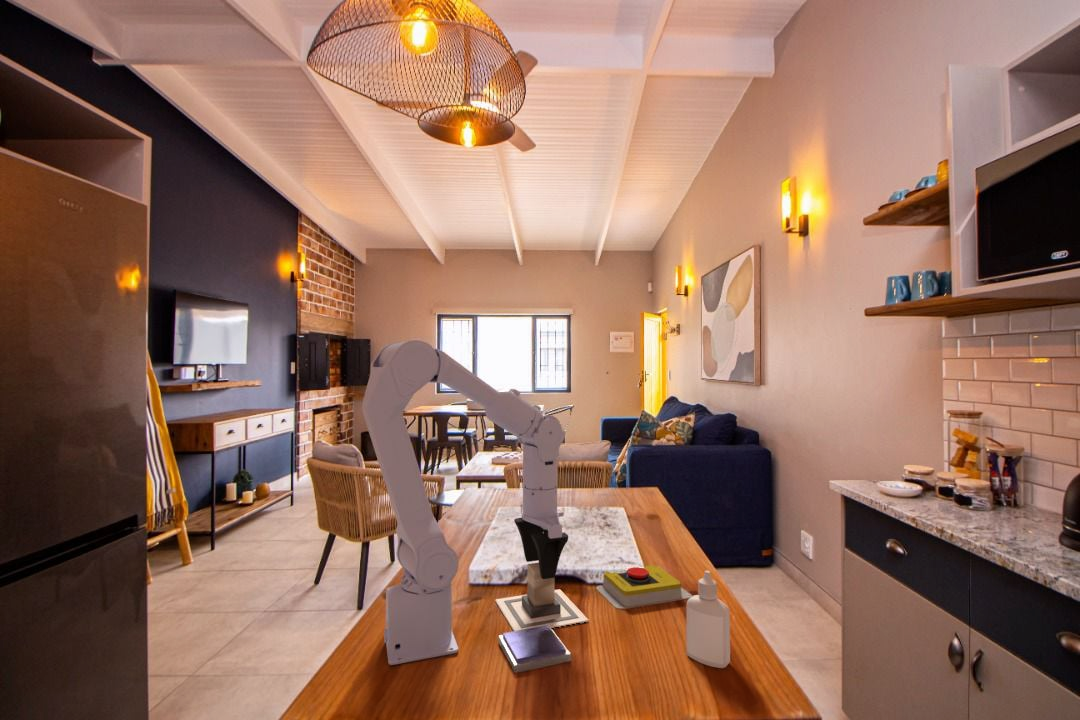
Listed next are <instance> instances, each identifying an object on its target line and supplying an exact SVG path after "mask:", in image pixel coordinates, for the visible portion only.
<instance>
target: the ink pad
mask: <svg viewBox="0 0 1080 720" xmlns="http://www.w3.org/2000/svg"><path fill="white" fill-rule="evenodd" d="M498 644H499V647H500V648H501V650H502V652H503V654H504V655H505V657H506V659H507V661H508V663H509V665H510V667H511V669H512V671H513V672H514V674H518V673H522V672H526V671H531V670H532V671H533V670H536V669H540V668H546V667H549V666H550V667H551V666H556V665H558V664H559V665H560V664H564V662H565V663H569V662H571V661H572V659H571V657H572V654H571V652H570V651H569V650H568V648H567V647H566V646H565V644H564V643H563V642H562V640H561V639H560V638H559V637H558V635H557V634H556V633H555V631H554V630H553V629H551V627H550V626H548V625H545V626H539V627H534V628H529V629H523V630H518V631H513V630H512V631H508V632H503V633H502V634H500V635H498Z"/></svg>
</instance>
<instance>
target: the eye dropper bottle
mask: <svg viewBox="0 0 1080 720" xmlns="http://www.w3.org/2000/svg"><path fill="white" fill-rule="evenodd" d="M711 575H712V574H711V571H709V570H705V571H704V575H703V578H700V579H698V580H697V581H698V583H697V584H698V587H697V588H698V592H697V593H698V594H695V595H692V597H690V598H689V599H688V600H687V601H686V615H685V616H686V622H685V623H686V625H685V626H686V630H685V631H686V637H685V638H686V639H685V640H686V654H687V656H689V658H691V659H692V660H694V661H695V662H698V663H699V664H702V665H705V666H708V667H712V668H718V669H725V668H727V666H728V665H729V663H730V662H731V622H730V621H731V617H730V615H731V614H730V608H729V607H728V605H727V604H725V602H723V601H722V600H721V599H719V598H718V584H717V583H718V582H717V581H715V579H713V578H712V576H711Z"/></svg>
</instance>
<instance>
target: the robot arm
mask: <svg viewBox="0 0 1080 720" xmlns="http://www.w3.org/2000/svg"><path fill="white" fill-rule="evenodd" d="M428 383H435V384H436V383H437V384H442V385H445V386H447V387H448V388H450V389H451V390H453V391H454V392H457V393H459V394H460V395H462V396H463V397H466V398H467V399H469V400H470V401H473V402H474V403H476V404H477V405H480V406H481V407H483V408H484V413H485V416H486V418H487V420H488V421H490V422H492V423H494V424H495V425H496V426H498V427H500V428H502V429H503V430H505V431H506V432H508V433H510V434H511V435H513V436H514V437H516V439H517V441H518V442H519V444H521V445H522V502H521V503H520V514H521V517H517V518H514V524H515V526H516V527H517V530H518V532H519V535H520V539H521V543H522V550H523V553H524V558H525V560H526V562H527V563H529V562H537V561H538V563H539V569H540V574H541V578H542V579H549V578H554V577H556V574H557V569H558V565H559V561H560V558H561V555H562V552H563V549H564V548H565V546H566V544H567V542H568V541H569V534H567V533H566V532H563V524H562V523H561V522H560V517H564V516H565V512H564V510H562V509H559V508H558V457H559V456H560V455H559V454H560V453H559V452H560V447H561V445H562V444H563V442H564V441H565V437H566V431H565V430H563V427H562V424H561V422H560V420H559V419H558V418H557V417H556V416H554V415H551V414H544V413H543V412H542V411H541V410H542V407H541V406H539V405H538V404H532V403H530V402H528V401H527V400H526V399H524V398H522V397H521V392H520V391H519V390H518V389H516V388H510V389H509V388H505V387H503V388H499V389H497V390H496V389H495V388H493V387H492V386H491V385H490V384H488V383H487V382H485V381H484V380H483V379H482V378H480V377H479V376H477V375H475V373H473V372H472V371H471V370H469V369H467V368H466V367H465V366H464V365H462V364H461V363H460V362H458V361H456V360H455V359H454V358H453V357H451V355H450V354H449V355H448V354H447V352H445V351H443V350H441V349H439V348H434V347H433V346H432V345H431V344H430V343H429V342H427V341H425V340H421V339H410V340H407V341H404V342H401V341H400V342H399V341H397V342H391V343H388V344H387V345H385V346H384V347H383V348H382V349H381V350H380V351H379V352H378V354H377V355H376V357H375V358H374V359H373V360H372V362H371V364H370V373H369V378H368V382H367V385H366V389H365V393H364V396H363V400H362V402H361V403H362V405H361V408H362V409H361V410H362V414H363V417H364V421H365V424H366V427H367V431H368V433H369V434H368V435H369V437H370V439H371V443H372V446H373V451H374V452H375V455H376V458H377V462H378V465H379V468H380V472H381V475H382V478H383V481H384V485H385V488H386V491H387V494H388V498H389V500H390V504H391V507H392V510H393V513H394V516H395V519H396V523H397V526H396V528H395V533H396V535H397V547H396V558H397V561H398V563H399V564H400V566H401V567H402V568H403V573H402V575H401V580H400V583H398V584H396V585H393V586H390V587H389V586H388V587H387V588H386V589H385V628H383V639H384V640H383V643H384V644H385V645H386V655H387V661H388V662H387V663H388V665H389V666H394V665H398V664H399V665H400V664H405V663H410V662H416V661H421V660H426V659H430V658H431V659H432V658H437V657H443V656H447V655H452V654H456V653H458V652H459V646H458V644H457V640H456V637H455V635H454V632H453V630H452V628H453V627H452V622H453V621H452V620H453V619H452V617H453V616H452V613H453V611H452V610H453V609H452V606H453V605H452V604H453V603H452V600H453V599H452V595H453V594H452V592H453V589H452V588H453V587H452V585H453V584H452V583H453V580H454V579H455V577H456V576H457V573H458V571H459V563H460V562H459V557H458V553H457V552H456V551H455V550H454V548H453V547H451V546H450V545H449V544H448V542H447V540H446V537H445V534H444V532H443V530H442V529H441V527H440V525H439V523H438V521H437V520H436V518H435V516H434V514H433V510H432V506H431V503H430V500H429V497H428V494H427V491H426V486H425V483H424V480H423V477H422V473H421V470H420V467H419V464H418V460H417V457H416V454H415V450H414V447H413V444H412V441H411V438H410V434H409V431H408V427H407V425H406V421H405V418H404V415H403V414H404V411H405V409H406V408H407V406H408V404H409V402H410V401H411V399H412V398H413V397H414V395H416V393H418V391H420V390H421V389H422V388H424V387H425V386H426V385H427V384H428Z"/></svg>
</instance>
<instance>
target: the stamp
mask: <svg viewBox="0 0 1080 720" xmlns="http://www.w3.org/2000/svg"><path fill="white" fill-rule="evenodd" d="M526 565H527V573H526V574H527V575H526V577H527V581H526V582H527V583H526V585H527V588H526V589H527V593H526V594H524V595H525V596H522V606H523V607H524V609H525V610H526V612H527V613H528V615H529V616H530V617H531V619H532V618H538V617H544V616H549V615H555V614H561V604H560V603H559V602H558V601H557V600H556V598H555V590H556V589H555V586H556V585H555V582H556V581H555V580H556V579H555V577H556V576H555V577H554V578H549V579H542V578H541V574H540V569H539V562H533V563H527V564H526Z"/></svg>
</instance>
